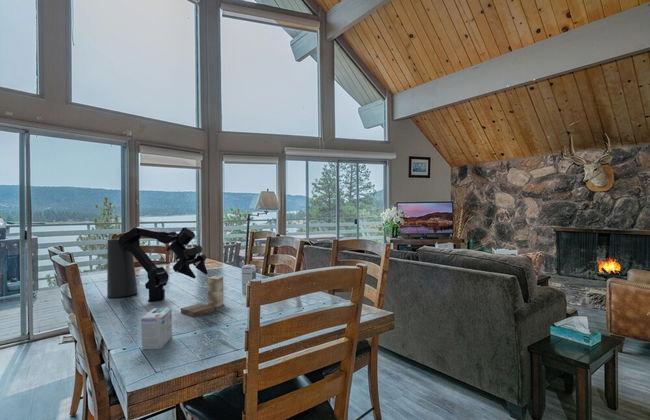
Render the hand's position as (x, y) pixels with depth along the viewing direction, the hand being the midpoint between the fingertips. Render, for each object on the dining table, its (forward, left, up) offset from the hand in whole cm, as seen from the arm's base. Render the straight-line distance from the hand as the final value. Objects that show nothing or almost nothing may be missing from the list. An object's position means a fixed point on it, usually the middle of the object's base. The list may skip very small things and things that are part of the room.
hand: (201, 275), depth 171 cm
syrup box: (+23, +15, -13) cm, 30 cm away
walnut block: (-1, -13, -14) cm, 19 cm away
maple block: (+7, -4, -13) cm, 15 cm away
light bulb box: (-10, -46, -14) cm, 49 cm away
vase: (-41, +27, -13) cm, 51 cm away
